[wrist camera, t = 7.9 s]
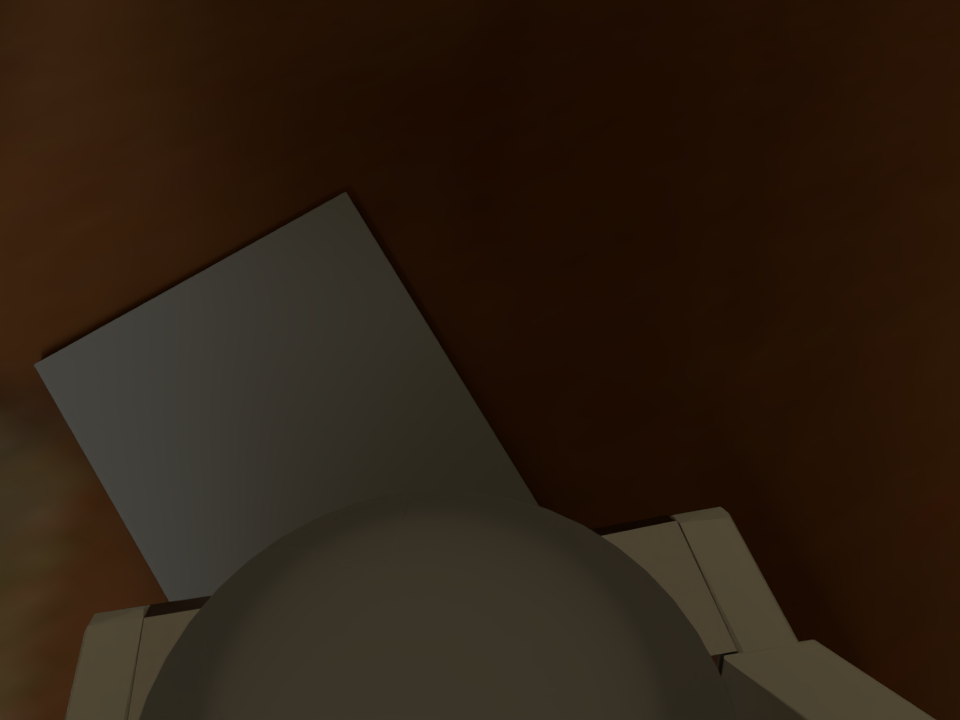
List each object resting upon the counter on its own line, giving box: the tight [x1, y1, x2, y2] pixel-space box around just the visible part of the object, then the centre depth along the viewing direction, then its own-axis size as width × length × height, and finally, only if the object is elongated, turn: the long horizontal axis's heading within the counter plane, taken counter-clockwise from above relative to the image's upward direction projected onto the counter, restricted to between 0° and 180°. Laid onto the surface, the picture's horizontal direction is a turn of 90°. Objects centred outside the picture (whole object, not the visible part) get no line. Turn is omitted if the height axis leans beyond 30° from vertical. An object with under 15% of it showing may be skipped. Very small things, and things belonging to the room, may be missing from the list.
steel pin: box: [139, 490, 736, 720], centre depth 9 cm, size 3×3×10 cm
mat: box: [34, 192, 539, 602], centre depth 26 cm, size 12×10×1 cm
